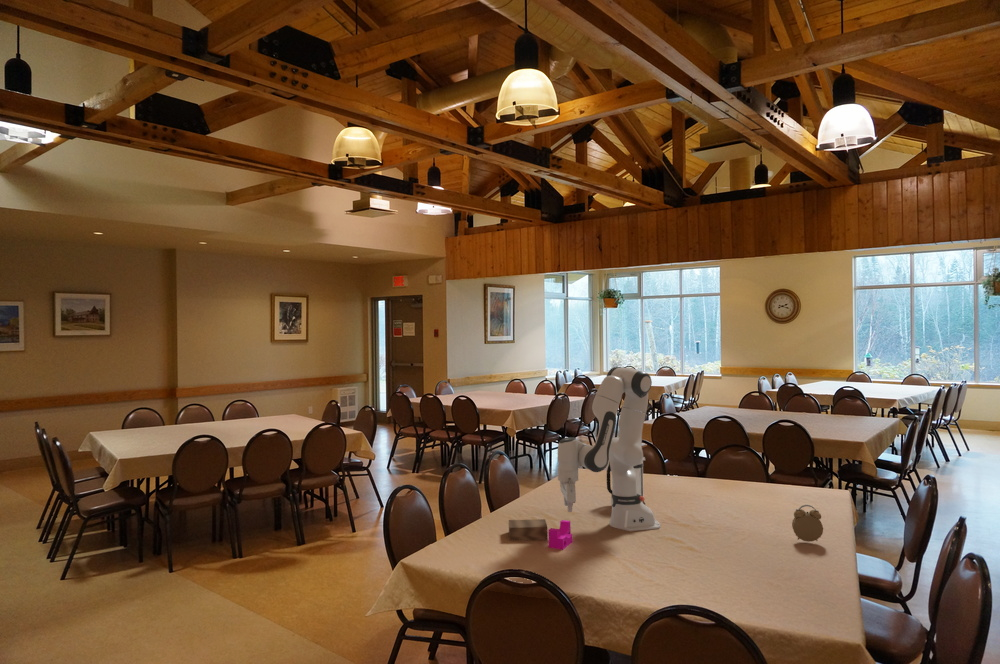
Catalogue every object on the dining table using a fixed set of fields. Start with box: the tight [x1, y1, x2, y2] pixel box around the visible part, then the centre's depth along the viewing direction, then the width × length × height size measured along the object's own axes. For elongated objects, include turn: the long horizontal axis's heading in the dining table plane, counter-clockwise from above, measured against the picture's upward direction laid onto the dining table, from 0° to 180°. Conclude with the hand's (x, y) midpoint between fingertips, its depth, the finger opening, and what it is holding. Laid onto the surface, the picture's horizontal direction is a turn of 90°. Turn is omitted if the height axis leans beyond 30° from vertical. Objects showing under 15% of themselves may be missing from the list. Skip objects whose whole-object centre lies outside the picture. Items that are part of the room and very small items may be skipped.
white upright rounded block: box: [606, 455, 647, 505], centre depth 315 cm, size 17×16×30 cm
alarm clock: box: [791, 504, 824, 543], centre depth 255 cm, size 11×5×15 cm, turn 73°
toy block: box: [547, 519, 573, 551], centre depth 257 cm, size 15×6×8 cm, turn 153°
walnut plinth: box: [508, 518, 549, 541], centre depth 266 cm, size 16×11×6 cm
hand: (568, 508), depth 265 cm, fingers open, 8 cm apart
